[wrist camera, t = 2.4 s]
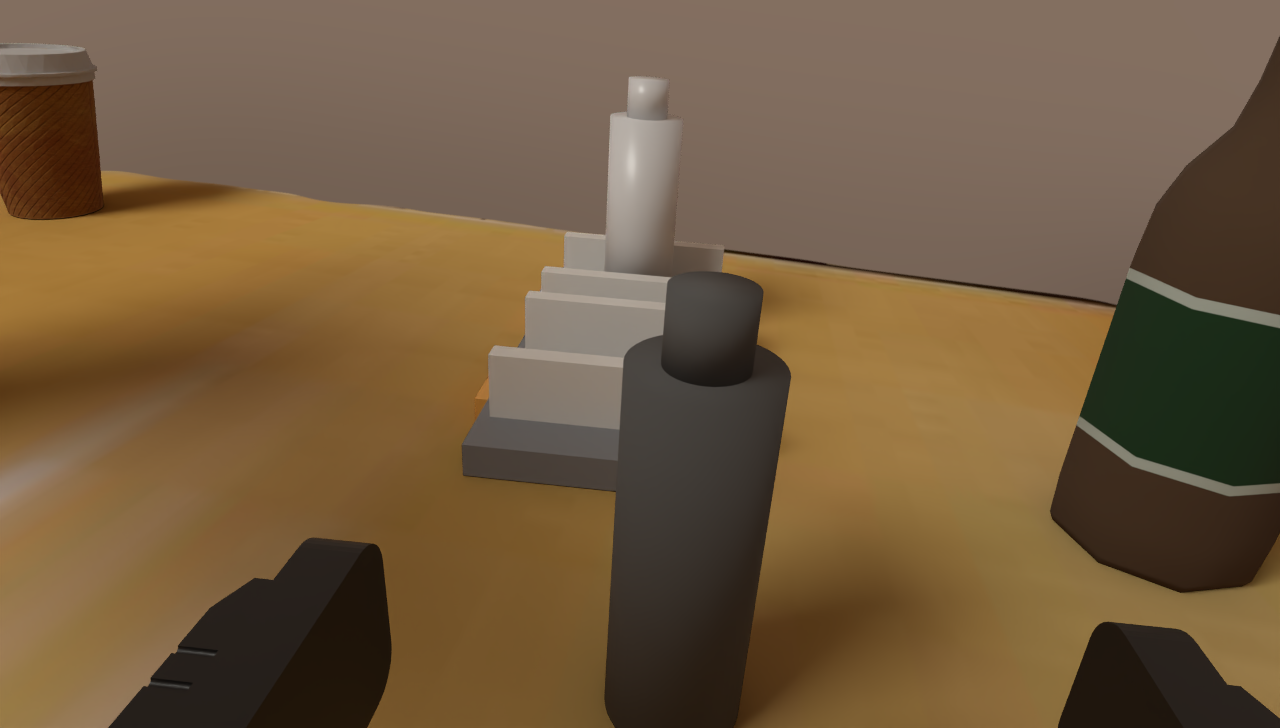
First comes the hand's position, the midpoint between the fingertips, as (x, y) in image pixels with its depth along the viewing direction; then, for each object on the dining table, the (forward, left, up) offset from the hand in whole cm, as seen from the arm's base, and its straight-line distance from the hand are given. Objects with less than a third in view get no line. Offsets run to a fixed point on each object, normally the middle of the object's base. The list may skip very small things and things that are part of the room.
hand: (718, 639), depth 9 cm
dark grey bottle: (-6, +8, -12) cm, 16 cm away
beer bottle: (+3, +28, -13) cm, 31 cm away
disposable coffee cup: (-72, +12, -13) cm, 74 cm away
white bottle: (-25, +29, -11) cm, 40 cm away
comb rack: (-22, +24, -12) cm, 35 cm away
